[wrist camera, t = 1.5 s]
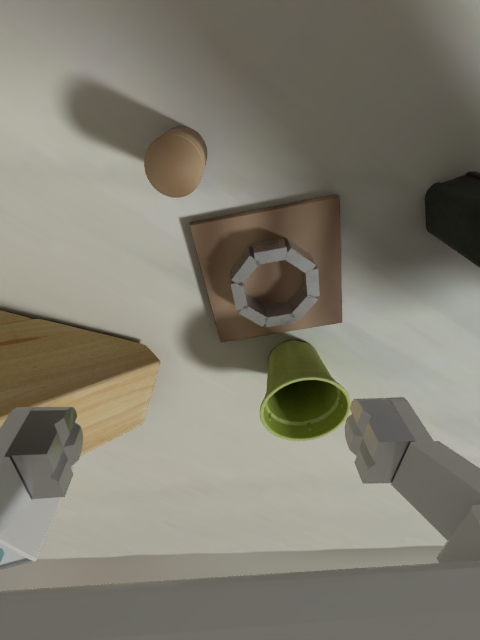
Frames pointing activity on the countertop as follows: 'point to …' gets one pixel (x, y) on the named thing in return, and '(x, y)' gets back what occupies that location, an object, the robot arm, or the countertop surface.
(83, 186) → the countertop surface
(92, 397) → the knife block
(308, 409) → the plant pot
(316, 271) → the steel ring
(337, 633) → the robot arm
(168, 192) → the oak dowel
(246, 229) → the walnut board
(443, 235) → the candle
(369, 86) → the countertop surface
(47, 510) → the soap bottle
